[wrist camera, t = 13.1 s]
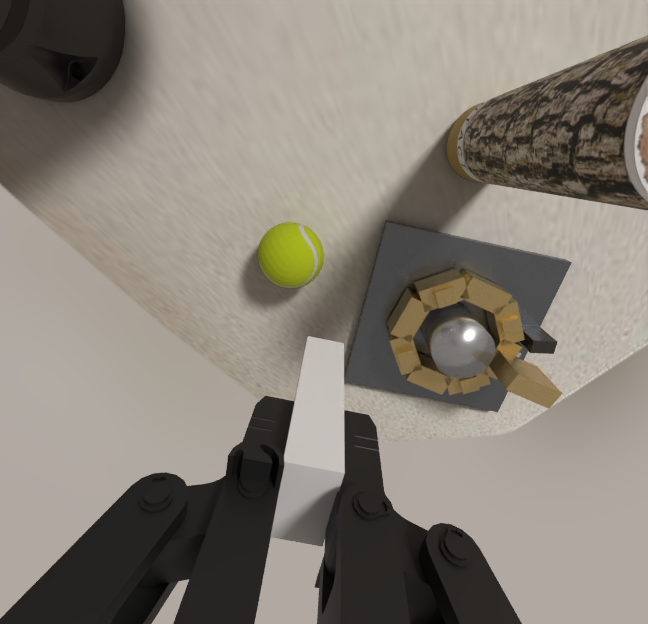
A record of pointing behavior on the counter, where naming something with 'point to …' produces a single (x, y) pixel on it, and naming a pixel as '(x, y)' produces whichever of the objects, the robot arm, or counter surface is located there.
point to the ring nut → (502, 329)
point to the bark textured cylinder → (565, 132)
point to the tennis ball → (290, 255)
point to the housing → (449, 310)
